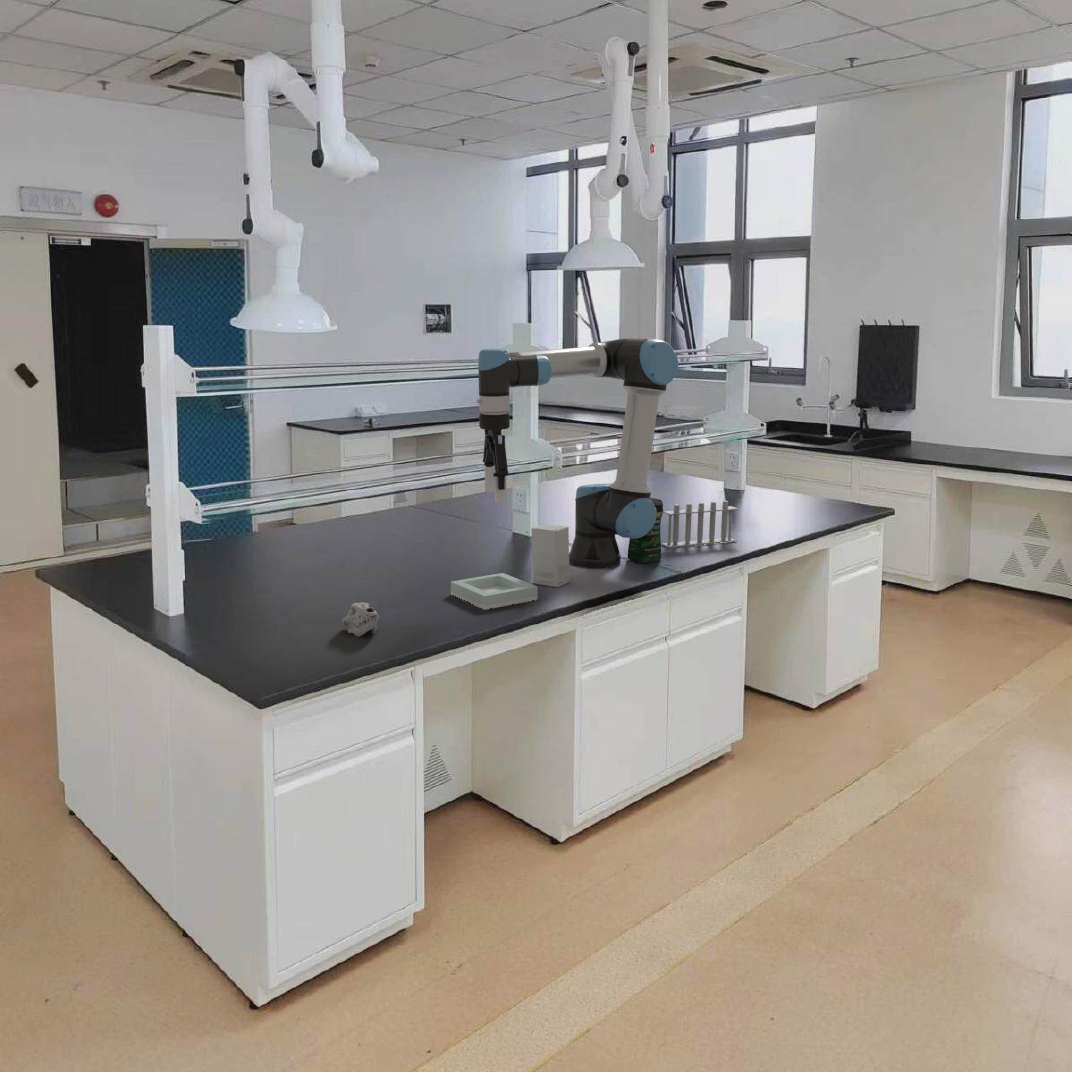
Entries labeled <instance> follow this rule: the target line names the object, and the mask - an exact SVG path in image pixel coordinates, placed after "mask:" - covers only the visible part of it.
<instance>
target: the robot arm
mask: <svg viewBox="0 0 1072 1072" xmlns="http://www.w3.org/2000/svg"><path fill="white" fill-rule="evenodd" d="M477 360H478V361H477V363H478V364H477V365H478V366H477V371H478V375H477V376H478V397H479V399H477V400H476V403H477V404H479V407H478V409H479V412H481V413H480V414H479V415H478V418H479V420H478V421H479V422H478V423H479V425H478V426H479V429H481V430H484V442H483V443H484V444H483V457H482V462H483V465H484V490H485V491H484V492H485V493H494V502H495V503H496V504H497V503H507V476H508V475H509V469H508V467H509V466H508V460H507V459H508V457H507V450H506V449H507V448H506V436H505V435H504V434H502V430H507V429H510V421H511V420H510V417H511V416H510V413H508V412H509V411H510V408H511V405H510V401H511V400H510V396H511V395H510V388H516V387H538V386H544V385H546V384H548V383H549V381H550V380H551V379H555V378H564V377H565V378H566V377H567V378H568V377H578V376H588V375H589V376H591V377H593V378H595V379H598V378H610V379H617V380H623V386H622V387H623V389H624V390H625V391H626V392H627V396H626V405H625V411H624V412H625V413H624V417H623V427H622V434H621V440H620V448H619V456H618V462H617V470H616V477H615V481H613V482H612V483H594V484H593V483H592V484H583V485H580V486H579V487H577V488H576V492H575V499H574V500H575V510H574V511H575V514H574V515H575V518H574V519H575V522H574V524H575V525H574V526H575V529H574V539H573V542H572V545H571V548H570V550H569V565H571V566H574V567H578V568H583V569H594V570H595V569H597V570H598V569H599V570H600V569H610V568H615V567H618V566H620V565H621V560H622V559H621V558H622V557H621V553H620V548H619V545H618V542H617V538H616V536H619V537H622V538H624V539H625V538H627V539H630V538H631V539H637V538H641V537H643V536H645V535H646V533H647V532H649V531H650V530H651V529H652V527H653V525H654V523H655V521H656V516H657V511H656V507H655V506H654V503H653V502H652V501H651V500H650V498H651V495H652V490H651V489H650V487H649V486H648V485H647V483H648V478H649V471H650V463H651V457H652V449H653V444H654V436H655V430H656V421H657V415H658V407H659V401H660V397H662V396H663V395H664V394H665V393H666V391H667V385H668V384H670V383H671V382H672V381H673V379H675V378H676V376H677V374H678V371H679V358H678V355H677V352H676V351H675V350H674V347H673V346H672V345H671V344H670V343H669V342H666V341H664V340H662V339H661V340H660V339H656V338H632V337H625V338H617V339H613V340H607V341H606V340H605V341H599V342H592V343H591V344H589V345H588V346H585V347H568V348H556V349H542V350H541V349H540V350H529V351H528V350H526V351H516V352H509V350H508V349H505V348H484V349H481V350H480V351H479V353H478V359H477Z"/></svg>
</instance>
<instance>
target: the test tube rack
mask: <svg viewBox="0 0 1072 1072" xmlns="http://www.w3.org/2000/svg"><path fill="white" fill-rule="evenodd" d="M697 506H698V508H693V504H692V503H686V506H685V507H686V508H685V509H680V507H681V506H680V504H678V503H677V504H676V503H675V504H674V505H673V510H665V511H664V510H663V514H666V515H668V528H667V529H668V530H667V533H668V534H667V542H663V543H661V545H663V546H662V547H664V546H665V547H664V548H666V547H667V548H666V549H668V548H670V549H678V548H677V547H681V548H688V547H687V546H691V547H696V546H695V545H702V546H705V545H704V544H712V545H715V544H714V543H720V542H729V541H737V542H738V540H737V539H734V538H732V522H733V521H732V517H733V511H739V508H738V507H735V506H732V505H729V501H728V500H723V501H722V506H717V502H716V501H711V502H710V507H705V502H698V505H697ZM717 512H721V524H720V525H721V526H720V527H721V529H720V537H719V538H717V537H716V538H715V535H716V532H715V531H716V516H717V515H716V514H717ZM705 513H709V526H708V527H709V530H708V531H709V532H708V538H705V539H704V538H703V536H704V535H703V534H704V518H705V515H704V514H705ZM692 514H697V528H696V529H697V530H696V540H695V539H694V540H691V538H692V535H691V534H692V533H691V532H692ZM680 515H685V529H684V530H685V531H684V541H683V540H682V541H679V534H680V533H679V531H680V530H679V527H680ZM728 515H729V518H728ZM672 517H673V518H672ZM672 519H673V523H672ZM672 524H673V525H672ZM727 529H728V530H727ZM727 531H728V535H727ZM671 537H672V542H671Z"/></svg>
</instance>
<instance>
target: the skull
mask: <svg viewBox="0 0 1072 1072" xmlns="http://www.w3.org/2000/svg"><path fill="white" fill-rule="evenodd" d="M378 621H380V616H379V614H378V612H377V611H376V610H375V609H374V608H373V607H370V603H368V602H363V601H361V602H353V603H352V604H351V606H350V609H349V610H348V612H347V615H346V616H344V617H343V618H342V619H341V622H342V625H343V627H344V628H345V629H347V633H348V634H354V636H355V637H357V638H359V637H361V636H363V635H365V634H366V633H367V632H369V631H372V632H373V633H376V631H377V625H378Z"/></svg>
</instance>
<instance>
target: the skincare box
mask: <svg viewBox="0 0 1072 1072" xmlns="http://www.w3.org/2000/svg"><path fill="white" fill-rule="evenodd" d="M569 529H570V528H569V526H563V525H555V524H548V523H543V524H540V525H537V526H534V527H531V561H532V562H531V563H532V568H531V569H532V571H531V572H532V584H534V583H535V584H534V585H539V586H540V585H541V586H548V587H554V588H559V587H560V588H561V587H562V586H564V585H567V584H568V583H570V563H569V553H570V549H569V548H570V545H569V544H570V539H569V538H570V537H569V536H570V535H569V534H570V533H569V532H570V531H569Z"/></svg>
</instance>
